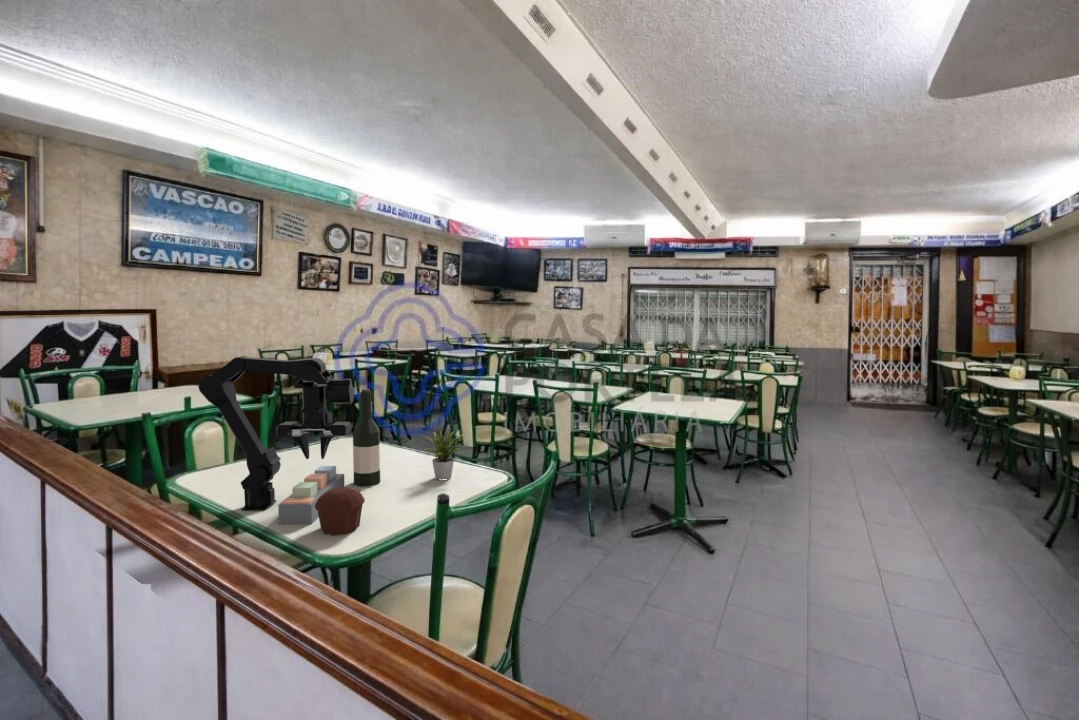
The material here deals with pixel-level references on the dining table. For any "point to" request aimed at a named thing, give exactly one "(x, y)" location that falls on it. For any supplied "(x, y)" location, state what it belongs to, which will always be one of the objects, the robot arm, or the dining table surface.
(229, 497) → the dining table surface
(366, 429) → the wine bottle
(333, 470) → the slate key
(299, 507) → the console
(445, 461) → the house plant
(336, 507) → the muffin
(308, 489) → the sage key
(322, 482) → the terracotta key
